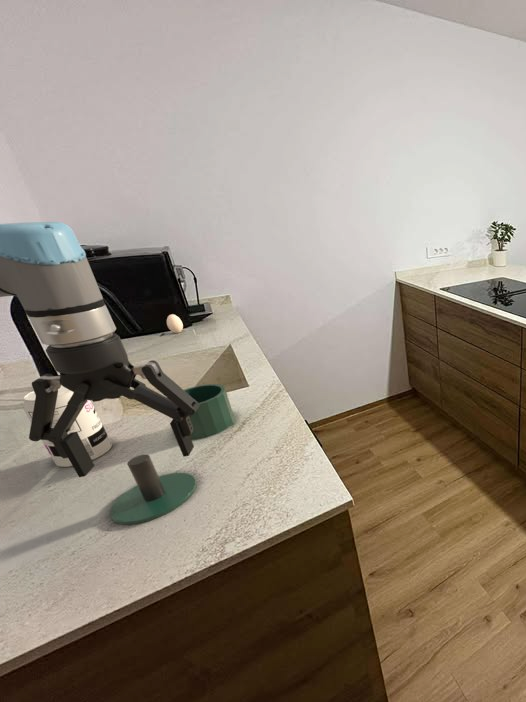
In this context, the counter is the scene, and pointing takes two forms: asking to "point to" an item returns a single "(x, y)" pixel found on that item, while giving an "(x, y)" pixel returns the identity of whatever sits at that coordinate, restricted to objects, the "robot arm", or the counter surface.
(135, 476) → the lid
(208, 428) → the pot
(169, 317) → the egg
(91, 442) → the supplement can
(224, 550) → the counter surface
